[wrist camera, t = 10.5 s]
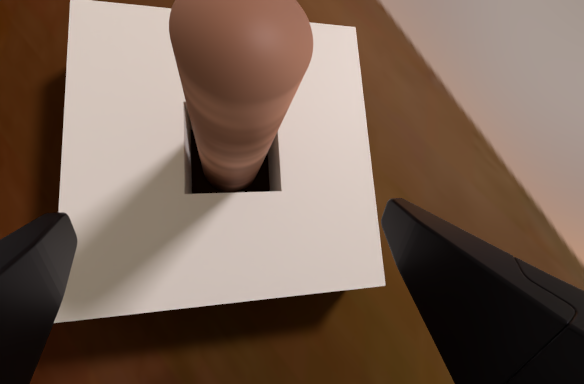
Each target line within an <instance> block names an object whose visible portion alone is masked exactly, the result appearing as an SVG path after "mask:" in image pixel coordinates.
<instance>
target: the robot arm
mask: <svg viewBox="0 0 584 384" xmlns="http://www.w3.org/2000/svg"><path fill="white" fill-rule="evenodd" d="M381 224H382V228H383V230H384V233H385V236H386V239H387V241H388V244H389V247H390V249H391V252H392V255H393V258H394V260H395V263H396V265H397V267H398V270H399V272H400V274H401V276H402V278H403V280H404V282H405V284H406V286H407V288H408V290H409V292H410V294H411V296H412V298H413V300H414V302H415V304H416V306H417V308H418V310H419V312H420V314H421V316H422V318H423V320H424V322H425V324H426V326H427V328H428V330H429V332H430V334H431V336H432V338H433V340H434V342H435V344H436V346H437V348H438V350H439V352H440V354H441V357H442V359H443V361H444V363H445V365H446V367H447V369H448V371H449V373H450V375H451V377H452V379H453V381H454V383H455V384H584V291H583V290H581V289H579V288H577V287H575V286H573V285H571V284H568V283H566V282H564V281H562V280H560V279H558V278H556V277H554V276H552V275H550V274H548V273H546V272H544V271H542V270H540V269H538V268H536V267H534V266H532V265H530V264H528V263H526V262H524V261H522V260H520V259H518V258H516V257H513V256H512V255H510V254H508V253H507V252H505V251H503V250H501V249H499V248H497V247H495V246H493V245H491V244H489V243H487V242H485V241H483V240H481V239H480V238H478V237H476V236H474V235H472V234H470V233H468V232H466V231H464V230H462V229H460V228H458V227H456V226H454V225H453V224H451V223H449V222H447V221H445V220H443V219H441V218H439V217H437V216H435V215H433V214H431V213H429V212H428V211H426V210H424V209H422V208H420V207H418V206H416V205H414V204H412V203H410V202H408V201H406V200H404V199H402V198H395V199H390V200H389V201H388V202H387V204H386V207H385V210H384V213H383V216H382V219H381ZM76 248H77V235H76V233H75V230H74V228H73V225H72V223H71V220H70V218H69V216H68V215H67V214H66V213H64V212H58V213H46V214H44V215H42V216H40V217H39V218H37V219H35V220H33V221H32V222H30V223H28V224H27V225H25V226H23V227H21V228H20V229H18V230H16V231H15V232H13V233H11V234H9V235H8V236H6V237H4V238H2V239H1V240H0V384H29V383H30V381H31V378H32V376H33V373H34V371H35V368H36V366H37V363H38V361H39V358H40V356H41V353H42V351H43V348H44V346H45V343H46V341H47V338H48V336H49V333H50V331H51V328H52V326H53V323H54V321H55V318H56V316H57V313H58V311H59V308H60V306H61V303H62V300H63V297H64V294H65V290H66V286H67V283H68V279H69V275H70V271H71V267H72V263H73V259H74V256H75V252H76Z"/></svg>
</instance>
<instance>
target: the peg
mask: <svg viewBox="0 0 584 384" xmlns="http://www.w3.org/2000/svg"><path fill="white" fill-rule="evenodd" d="M169 34H170V40H171V44H172V48H173V52H174V56H175V60H176V64H177V68H178V72H179V76H180V80H181V84H182V88H183V92H184V96H185V100H186V104H187V108H188V112H189V116H190V120H191V124H192V128H193V132H194V136H195V140H196V144H197V148H198V152H199V156H200V160H201V164H202V168H203V172H204V175H205V177H206V179H207V181H208V182H209V183H210V184H211V185H212V186H213V187H214V188H216V189H218V190H220V191H223V192H228V193H234V192H239V191H242V190H244V189H246V188H247V187H249V186H250V185H251V184H252V183H253V181H254V180H255V178H256V176H257V174H258V172H259V169H260V167H261V165H262V163H263V161H264V159H265V157H266V155H267V153H268V151H269V148H270V146H271V144H272V142H273V140H274V138H275V136H276V134H277V132H278V129H279V127H280V125H281V123H282V121H283V119H284V117H285V115H286V113H287V111H288V108H289V106H290V104H291V102H292V100H293V98H294V96H295V94H296V92H297V90H298V87H299V85H300V83H301V81H302V79H303V77H304V75H305V73H306V71H307V69H308V66H309V64H310V61H311V58H312V53H313V34H312V30H311V26H310V23H309V20H308V18H307V16H306V14H305V12H304V11H303V9H302V8H301V6H300V5H299V3H298V2H297V1H296V0H175V2H174V4H173V6H172V9H171V12H170V18H169Z"/></svg>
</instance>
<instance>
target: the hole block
mask: <svg viewBox="0 0 584 384" xmlns="http://www.w3.org/2000/svg"><path fill="white" fill-rule="evenodd" d="M170 12H171V9H170V8H160V7H150V6H141V5H131V4H121V3H111V2H101V1H91V0H70V15H69V33H68V51H67V69H66V86H65V104H64V122H63V140H62V157H61V175H60V193H59V211H58V212H64V213H66V214H67V215H68V216H69V218H70V220H71V223H72V225H73V228H74V230H75V233H76V235H77V248H76V252H75V256H74V259H73V263H72V267H71V271H70V275H69V279H68V283H67V286H66V290H65V294H64V297H63V300H62V303H61V306H60V308H59V311H58V313H57V316H56V318H55V321H54V323H60V322H69V321H77V320H86V319H95V318H104V317H113V316H122V315H131V314H139V313H148V312H157V311H166V310H175V309H184V308H192V307H201V306H210V305H219V304H228V303H237V302H246V301H254V300H263V299H272V298H281V297H290V296H299V295H307V294H316V293H325V292H334V291H343V290H352V289H361V288H369V287H378V286H385V277H384V269H383V260H382V252H381V243H380V234H379V226H378V217H377V209H376V200H375V192H374V183H373V174H372V166H371V157H370V149H369V140H368V131H367V123H366V114H365V106H364V97H363V88H362V80H361V71H360V63H359V54H358V46H357V37H356V28H355V27H348V26H338V25H329V24H319V23H310V26H311V30H312V34H313V53H312V58H311V61H310V64H309V66H308V69H307V71H306V73H305V75H304V77H303V79H302V81H301V83H300V85H299V87H298V90H297V92H296V94H295V96H294V98H293V100H292V102H291V104H290V106H289V108H288V111H287V113H286V115H285V117H284V119H283V121H282V123H281V125H280V127H279V129H278V132H277V134H276V136H275V138H274V140H273V142H272V144H271V146H270V148H269V151H268V168H269V185H270V191H268V192H236V193H203V194H192V167H191V129H192V130H193V128H192V124H191V120H190V116H189V112H188V108H187V104H186V100H185V96H184V92H183V88H182V84H181V80H180V76H179V72H178V68H177V64H176V60H175V56H174V52H173V48H172V44H171V40H170V34H169V18H170Z"/></svg>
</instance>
